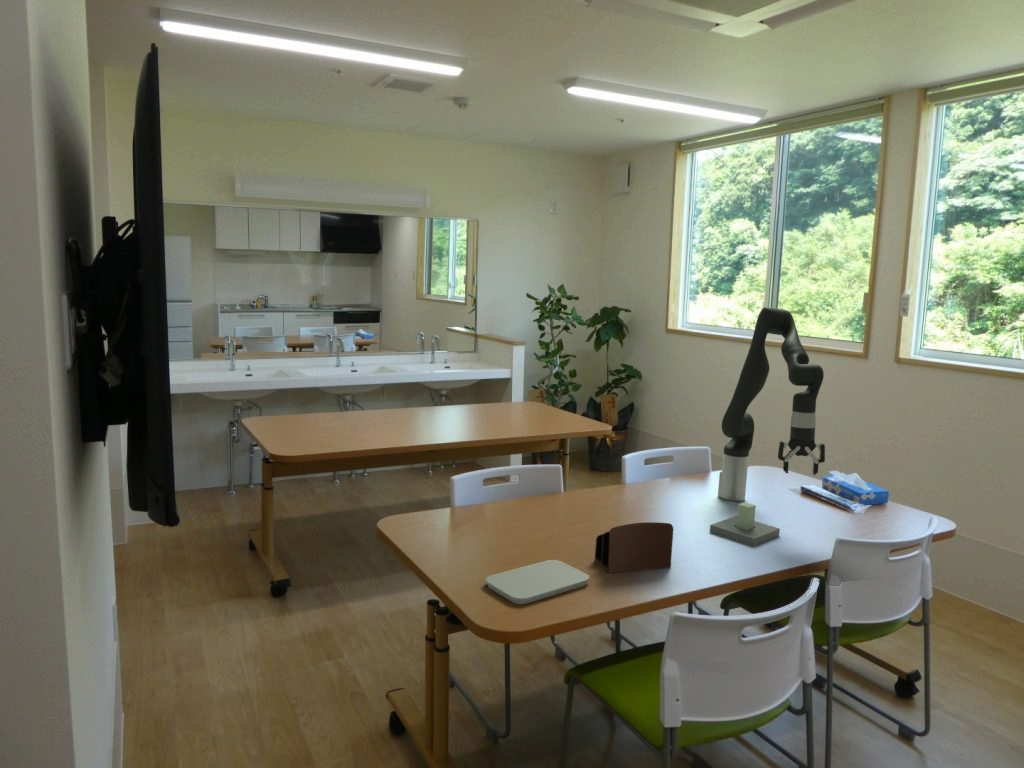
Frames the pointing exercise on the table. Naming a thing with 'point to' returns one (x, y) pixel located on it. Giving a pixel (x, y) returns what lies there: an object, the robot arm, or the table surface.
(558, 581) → the tablet
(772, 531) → the pocket holder
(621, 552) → the letter holder
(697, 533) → the table surface
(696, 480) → the table surface
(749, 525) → the sage block
